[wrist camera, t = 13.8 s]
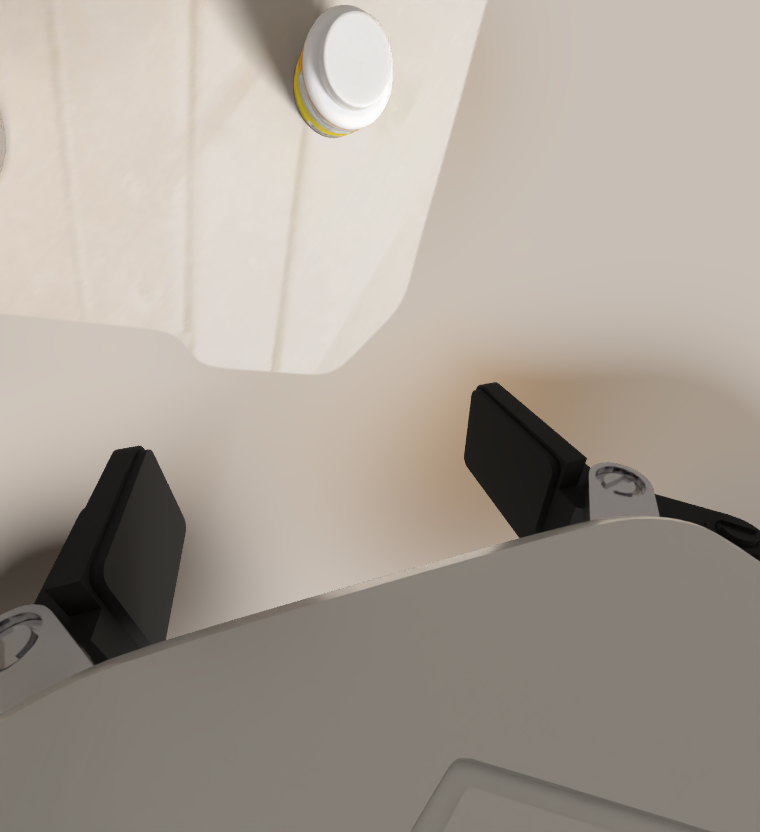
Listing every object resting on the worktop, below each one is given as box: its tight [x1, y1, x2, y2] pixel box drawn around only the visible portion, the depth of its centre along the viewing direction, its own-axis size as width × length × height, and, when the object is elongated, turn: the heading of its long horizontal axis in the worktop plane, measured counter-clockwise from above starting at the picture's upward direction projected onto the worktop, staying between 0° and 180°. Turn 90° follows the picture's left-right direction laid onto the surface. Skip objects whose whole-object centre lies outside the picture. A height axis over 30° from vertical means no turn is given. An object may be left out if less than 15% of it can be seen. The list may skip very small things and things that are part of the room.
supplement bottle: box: [293, 5, 393, 138], centre depth 24 cm, size 6×6×10 cm
